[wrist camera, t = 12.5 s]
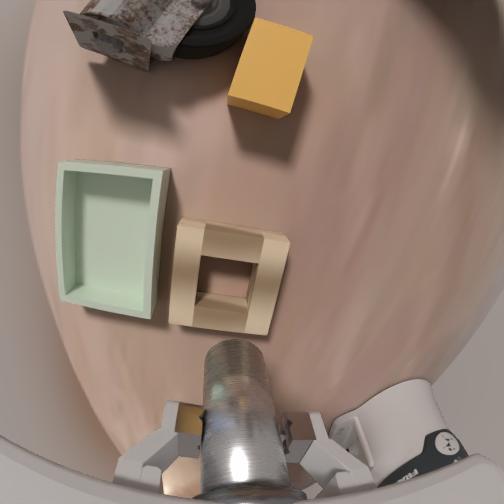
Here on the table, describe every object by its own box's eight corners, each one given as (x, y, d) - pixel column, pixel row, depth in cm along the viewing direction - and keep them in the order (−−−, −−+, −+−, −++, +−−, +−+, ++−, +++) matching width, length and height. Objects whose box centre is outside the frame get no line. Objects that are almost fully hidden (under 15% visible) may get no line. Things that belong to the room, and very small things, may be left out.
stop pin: (263, 390, 15) (292, 534, 7) (194, 385, 14) (188, 536, 6) (278, 335, 14) (329, 500, 6) (199, 328, 13) (187, 506, 5)
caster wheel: (253, 16, 19) (196, 102, 20) (144, -31, 14) (76, 52, 15) (287, -19, 13) (216, 80, 14) (151, -76, 8) (56, 17, 9)
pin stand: (263, 319, 26) (267, 335, 23) (172, 307, 25) (168, 323, 22) (283, 233, 23) (290, 242, 21) (182, 217, 22) (177, 225, 20)
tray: (157, 301, 24) (150, 319, 21) (74, 285, 23) (59, 300, 20) (170, 168, 21) (162, 171, 18) (76, 159, 20) (58, 161, 17)
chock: (278, 119, 20) (290, 113, 17) (227, 104, 20) (227, 94, 16) (299, 53, 19) (313, 36, 15) (249, 37, 18) (255, 17, 14)
